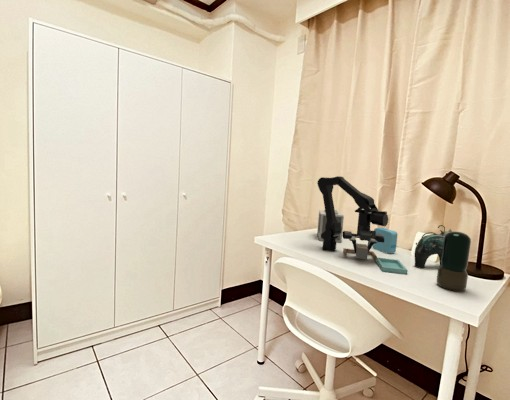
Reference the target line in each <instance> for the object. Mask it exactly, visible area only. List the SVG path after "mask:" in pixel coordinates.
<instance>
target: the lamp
mask: <svg viewBox="0 0 510 400" xmlns="http://www.w3.org/2000/svg"><path fill="white" fill-rule="evenodd" d="M471 243H472V241H471V238H470V236H469V235H468V234H467V233H464V232H462V231H457V230H456V231H452V232H448V233H447V234H446V235H445V236H444V241H443V249H442V256H441V266H440V265H439V267H438V268H437V273H436V283H437V285H439V287H441V288H443V289H446V290H449V291H454V292H462V291H464V290H466V289H467V285H468V277H469V274H468V272H467V268H468V265H469V258H470V251H471Z"/></svg>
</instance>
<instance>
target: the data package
mask: <svg viewBox="0 0 510 400" xmlns="http://www.w3.org/2000/svg"><path fill="white" fill-rule="evenodd" d="M373 231H376V234H381V235H382V236H383V237H384V242H377V241H376V242H377V243H375V244H373V246H372V249H374V250H377V251H379V252H383V253H385V254H395V253H396V251H397V243H398V235H399V234H398V232H397V231H396V230H392V229H388V228H385V227H384V228H383V227H376V228H374V230H373Z"/></svg>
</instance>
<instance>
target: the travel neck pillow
mask: <svg viewBox="0 0 510 400" xmlns="http://www.w3.org/2000/svg"><path fill="white" fill-rule="evenodd" d="M440 227H442V228H443V230H441V229H440V230H439V232H440V233H439V234H438V233H436V232H432V231H429V232H425V233H424V234H422V236H421V238H420V239H419V240H418V241H417V244H416V246H415V249H414V267H415V268H418V269H424V268H426V263H427V260H428V259H429V258H430V257H431V256H433V255H437V256H438V258H439V267H440V266H441V256H442V249H443V241H444V236H445V235H446V234H447V233H448V232H453V231H452V229H451V228H449V230H448V231H447V230H446V227H445V225H442V224H441V225H438V226H437V229H439V228H440Z"/></svg>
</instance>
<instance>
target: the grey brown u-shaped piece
mask: <svg viewBox="0 0 510 400" xmlns="http://www.w3.org/2000/svg"><path fill="white" fill-rule="evenodd" d="M342 254H343V256H344V258H347V257H348V254H354V255H355V251H354V248H346V247H345V248H343V250H342ZM368 256H371V257H372V259H373V261H376V257H377V258H378V256H377V255H376V253H375V251H372V250H370V251H369V253H368Z"/></svg>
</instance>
